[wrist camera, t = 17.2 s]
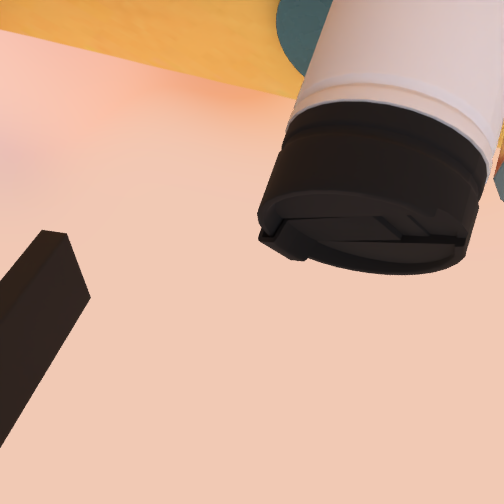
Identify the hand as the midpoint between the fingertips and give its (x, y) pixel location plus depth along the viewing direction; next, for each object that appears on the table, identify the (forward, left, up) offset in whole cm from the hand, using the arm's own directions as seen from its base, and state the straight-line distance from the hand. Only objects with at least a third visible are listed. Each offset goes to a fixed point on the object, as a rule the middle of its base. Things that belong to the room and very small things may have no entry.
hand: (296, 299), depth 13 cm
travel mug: (+1, -1, -22) cm, 22 cm away
